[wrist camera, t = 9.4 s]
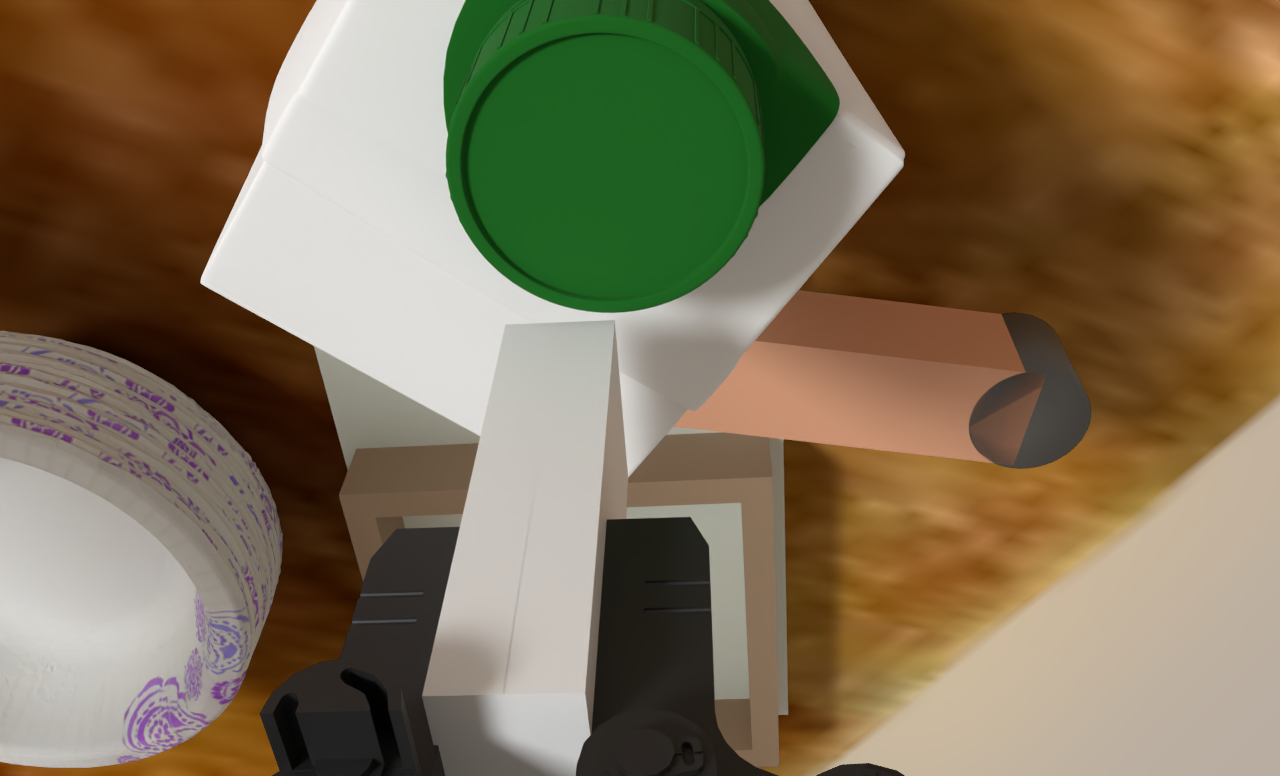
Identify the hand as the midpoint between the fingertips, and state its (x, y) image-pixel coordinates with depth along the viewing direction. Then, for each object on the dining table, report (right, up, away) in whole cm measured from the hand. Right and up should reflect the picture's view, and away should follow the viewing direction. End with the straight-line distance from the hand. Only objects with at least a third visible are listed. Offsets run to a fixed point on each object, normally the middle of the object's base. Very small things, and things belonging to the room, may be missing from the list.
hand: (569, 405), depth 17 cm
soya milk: (0, +13, +16) cm, 20 cm away
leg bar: (+4, +2, +17) cm, 18 cm away
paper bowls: (-19, -2, +27) cm, 33 cm away
